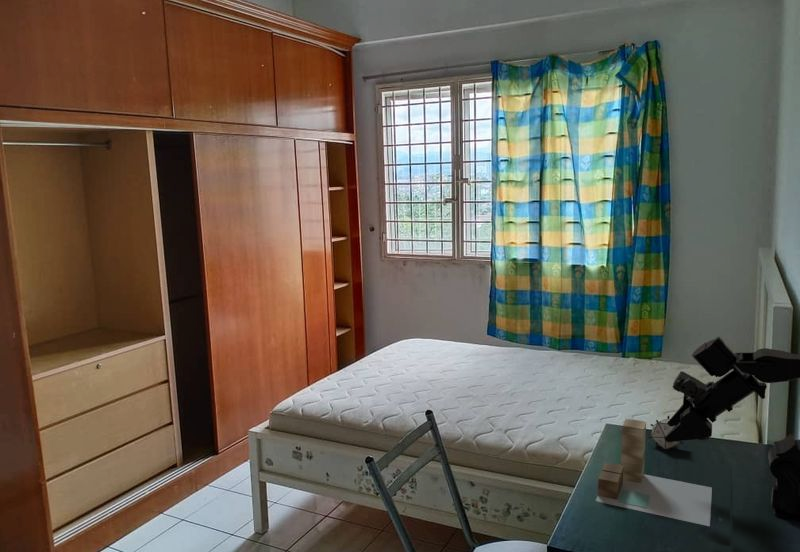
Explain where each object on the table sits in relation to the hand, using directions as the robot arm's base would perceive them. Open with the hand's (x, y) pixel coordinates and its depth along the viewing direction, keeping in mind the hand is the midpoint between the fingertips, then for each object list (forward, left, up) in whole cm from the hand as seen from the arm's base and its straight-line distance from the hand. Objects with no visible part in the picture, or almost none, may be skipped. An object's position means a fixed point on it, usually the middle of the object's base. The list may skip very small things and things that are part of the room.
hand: (667, 432), depth 138 cm
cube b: (+10, +6, -12) cm, 17 cm away
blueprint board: (+1, +6, -13) cm, 15 cm away
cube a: (+10, +10, -12) cm, 19 cm away
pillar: (+7, 0, -12) cm, 14 cm away
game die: (+1, -21, -13) cm, 25 cm away
